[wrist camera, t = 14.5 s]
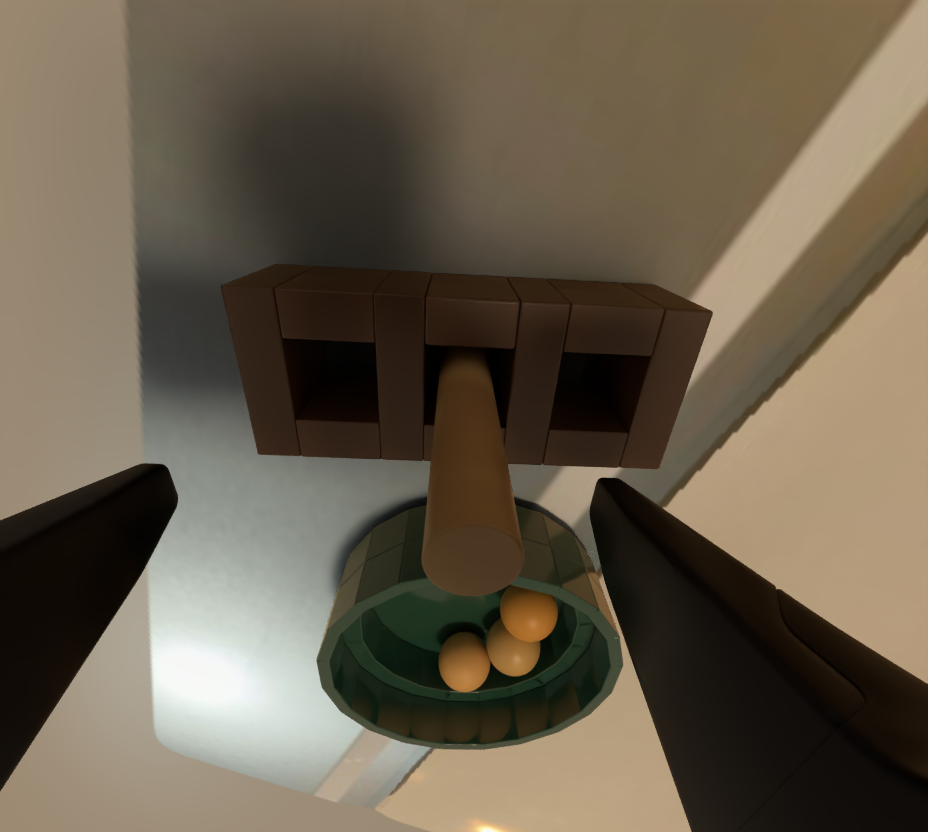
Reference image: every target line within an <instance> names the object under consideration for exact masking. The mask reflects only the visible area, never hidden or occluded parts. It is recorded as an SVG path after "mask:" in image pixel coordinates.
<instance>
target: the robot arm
mask: <svg viewBox="0 0 928 832" xmlns="http://www.w3.org/2000/svg"><path fill="white" fill-rule="evenodd" d="M177 504H178V495H177V492H176V489H175V486H174V483H173V480H172V478H171V475H170V472H169V470H168V468H167V467H166V466H165V465H163V464H148V463H144V464H139V465H136V466H134V467H131V468H129V469H126V470H124V471H121V472H119V473H117V474H114V475H112V476H109V477H107V478H104V479H102V480H99V481H97V482H94V483H92V484H89V485H87V486H84V487H82V488H79V489H77V490H75V491H72V492H70V493H67V494H65V495H62V496H60V497H57V498H55V499H52V500H50V501H47V502H45V503H42V504H40V505H37V506H35V507H32V508H30V509H28V510H25V511H23V512H20V513H18V514H15V515H13V516H10V517H8V518H5V519H3V520H0V791H1V789H2V788H3V786H4V785H5V783H6V782H7V780H8V779H9V777H10V775H11V774H12V773H13V771H14V769H15V768H16V766H17V765H18V763H19V762H20V760H21V759H22V757H23V756H24V754H25V753H26V751H27V749H28V748H29V746H30V745H31V743H32V742H33V740H34V739H35V737H36V736H37V734H38V733H39V731H40V730H41V728H42V726H43V725H44V723H45V722H46V720H47V719H48V717H49V716H50V714H51V713H52V711H53V710H54V708H55V706H56V705H57V703H58V702H59V700H60V699H61V697H62V696H63V694H64V693H65V691H66V690H67V688H68V687H69V685H70V683H71V682H72V680H73V679H74V677H75V676H76V674H77V673H78V671H79V670H80V668H81V667H82V665H83V664H84V662H85V661H86V659H87V657H88V656H89V654H90V653H91V651H92V650H93V648H94V646H95V645H96V643H97V642H98V641H99V639H100V638H101V636H102V634H103V633H104V631H105V630H106V628H107V627H108V625H109V624H110V622H111V621H112V619H113V618H114V616H115V615H116V613H117V611H118V610H119V608H120V607H121V605H122V604H123V602H124V600H125V599H126V598H127V596H128V595H129V593H130V591H131V590H132V588H133V587H134V585H135V584H136V582H137V580H138V579H139V577H140V576H141V574H142V572H143V570H144V569H145V567H146V565H147V563H148V561H149V559H150V557H151V556H152V554H153V552H154V550H155V548H156V546H157V544H158V542H159V540H160V538H161V536H162V534H163V532H164V530H165V529H166V527H167V525H168V523H169V521H170V519H171V517H172V515H173V513H174V511H175V509H176V507H177ZM590 520H591V524H592V528H593V533H594V537H595V542H596V546H597V551H598V555H599V559H600V564H601V568H602V572H603V576H604V580H605V584H606V587H607V590H608V593H609V596H610V599H611V602H612V605H613V608H614V611H615V613H616V616H617V619H618V622H619V625H620V628H621V631H622V633H623V636H624V639H625V642H626V645H627V648H628V651H629V653H630V656H631V659H632V662H633V665H634V668H635V671H636V674H637V676H638V679H639V682H640V685H641V688H642V691H643V694H644V696H645V699H646V702H647V705H648V708H649V711H650V714H651V717H652V719H653V722H654V725H655V728H656V731H657V734H658V737H659V739H660V742H661V745H662V748H663V751H664V754H665V757H666V759H667V762H668V765H669V768H670V771H671V774H672V777H673V780H674V782H675V785H676V788H677V791H678V794H679V797H680V800H681V802H682V805H683V808H684V811H685V814H686V817H687V820H688V822H689V825H690V828H691V831H692V832H928V684H927V683H925V682H924V681H922V680H920V679H919V678H917V677H915V676H914V675H912V674H911V673H909V672H907V671H906V670H904V669H902V668H901V667H899V666H898V665H896V664H894V663H893V662H891V661H889V660H888V659H886V658H885V657H883V656H881V655H880V654H878V653H876V652H875V651H873V650H872V649H870V648H869V647H867V646H865V645H864V644H862V643H861V642H859V641H857V640H856V639H854V638H853V637H851V636H849V635H848V634H846V633H845V632H843V631H842V630H840V629H838V628H837V627H835V626H834V625H832V624H831V623H829V622H828V621H826V620H825V619H823V618H822V617H820V616H819V615H817V614H816V613H814V612H813V611H811V610H810V609H808V608H807V607H805V606H804V605H802V604H801V603H799V602H798V601H797V600H795V599H794V598H792V597H791V596H789V595H788V594H786V593H785V592H784V591H782V590H780V589H777V590H776V587H775V586H774V585H773V584H772V583H770V582H769V581H767V580H766V579H764V578H763V577H761V576H760V575H759V574H757V573H756V572H754V571H753V570H751V569H750V568H748V567H747V566H745V565H744V564H743V563H741V562H740V561H738V560H737V559H735V558H734V557H732V556H731V555H729V554H728V553H727V552H725V551H724V550H722V549H721V548H719V547H718V546H716V545H715V544H713V543H712V542H711V541H709V540H708V539H706V538H705V537H703V536H702V535H700V534H699V533H697V532H696V531H695V530H693V529H692V528H690V527H689V526H687V525H686V524H684V523H683V522H681V521H680V520H679V519H677V518H676V517H674V516H673V515H671V514H670V513H668V512H667V511H665V510H664V509H662V508H661V507H660V506H658V505H657V504H655V503H654V502H652V501H651V500H649V499H648V498H646V497H645V496H644V495H642V494H641V493H639V492H638V491H636V490H635V489H633V488H632V487H630V486H629V485H628V484H626V483H625V482H623V481H622V480H620V479H618V478H600V479H599V480H598V481H597V483H596V487H595V490H594V494H593V498H592V502H591V506H590Z"/></svg>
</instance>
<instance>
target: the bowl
mask: <svg viewBox="0 0 928 832" xmlns="http://www.w3.org/2000/svg"><path fill="white" fill-rule="evenodd" d="M426 507H427V505H424V506H420V507H415V508H411V509H408V510H406V511H404V512H402V513H401V514H399V515H397V516H395V517H393V518H391V519H389V520H387V521H385V522H383V523H382V524H380V525H378V526H376V527H374V529H372V531H371V532H370V533H369V534H368V535H367V536H366V537H365V538H364V539H363V540H362V541H361V542H360V543H359V544H358V545H357V546H356V547H355V549H354V550H353V551H352V552H351V553H350V555H349V557H348V560H347V563H346V565H345V568H344V571H343V574H342V577H341V580H340V583H339V586H338V589H337V593H336V596H335V599H334V603H333V606H332V609H331V613H330V616H329V619H328V623H327V626H326V629H325V633H324V636H323V639H322V642H321V646H320V649H319V652H318V656H317V665H318V670H319V675H320V680H321V685H322V688H323V690H324V691H325V692H326V694H327V695H328V696H329V697H330V699H331V700H332V701H333V702H334V704H335V705H336V706H337V708H338V709H339V710H340V711H341V712H342V713H343V714H345V715H347V716H348V717H350V718H351V719H353V720H354V721H356V722H357V723H359V724H360V725H362V726H363V727H365V728H366V729H368V730H370V731H373V732H376V733H378V734H381V735H384V736H387V737H389V738H392V739H395V740H398V741H400V742H404V743H409V744H415V745H421V746H426V747H432V748H438V749H479V750H482V749H483V750H484V749H491V748H498V747H505V746H512V745H519V744H522V743H526V742H529V741H532V740H535V739H538V738H542V737H545V736H548V735H551V734H554V733H557V732H560V731H561V730H563V729H565V728H567V727H569V726H570V725H572V724H574V723H576V722H577V721H579V720H581V719H583V718H585V717H586V716H588V715H589V714H591V713H592V712H593V711H594V710H595V709H596V708H597V707H598V706H599V705H600V704H601V703H602V702H603V701H604V700H605V699H606V698H607V697H608V696H609V695H610V694H611V693H612V691H613V689H614V686H615V684H616V682H617V679H618V677H619V674H620V672H621V670H622V667H623V658H622V651H621V643H620V636H619V634H618V631H617V628H616V625H615V623H614V620H613V617H612V615H611V612H610V609H609V606H608V604H607V601H606V598H605V596H604V593H603V590H602V587H601V585H600V582H599V579H598V576H597V574H596V571H595V568H594V566H593V563H592V560H591V558H590V557H589V555H588V554H587V553H586V551H585V550H584V548H583V547H582V546H581V544H580V543H579V541H578V540H577V538H576V537H575V536H574V534H572V533H571V532H569V531H568V530H566V529H565V528H563V527H562V526H560V525H559V524H557V523H556V522H554V521H553V520H551V519H550V518H548V517H547V516H545V515H544V514H542V513H540V512H537V511H534V510H530V509H527V508H524V507H520V506H517V505H515V507H516V513H517V518H518V523H519V529H520V534H521V539H522V545H523V550H524V564H523V567H522V570H521V572H520V574H519V575H518V577H517V578H516V579H515V580H514V581H513V582H512V583H511V584H509V585H508V586H507V587H505V588H503V589H501V590H499V591H497V592H494V593H491V594H486V595H481V596H463V595H457V594H453V593H450V592H447V591H445V590H443V589H441V588H439V587H438V586H436V585H435V584H434V583H433V582H432V581H430V579H429V578H428V577H427V575H426V573H425V572H424V569H423V566H422V548H423V538H424V528H425V517H426ZM510 585H513V586H517V587H521V588H525V589H529V590H533V591H537V592H541V593H545V594H548V595H552V596H554V598H555V600H556V603H557V608H558V616H557V622H556V625H555V627H554V629H553V630H552V632H551V633H550V634H549V635H548V636H547V637H546V638H544V639H542V640H540V655H539V659H538V661H537V663H536V665H535V666H534V668H533V669H532V670H531V671H529V672H528V673H526V674H524V675H521V676H508V675H506V674H503V673H502V672H500V671H499V670H498V669H497V668H496V667H495V666H494V665H493V664H492V662H491V660H490V670H489V673H488V676H487V678H486V680H485V681H484V682H483V684H482V685H481V686H480V687H478V688H477V689H475V690H473V691H470V692H459V691H456V690H454V689H452V688H451V687H449V686H448V685H447V684H446V683H445V681H444V680H443V678H442V676H441V674H440V670H439V663H438V662H439V654H440V650H441V648H442V646H443V644H444V643H445V641H446V640H447V639H448V638H449V637H450V636H452V635H453V634H456V633H458V632H470V633H473V634H475V635H477V636H478V637H480V638H481V639H482V640H483V641H484V643H485V644H486V646H487V636H488V633H489V630H490V628H491V627H492V625H493V624H494V623H495V622H496V621H497V620H498V619H500V618H501V614H500V603H501V599H502V596H503V594H504V592H505V590H506V589H507V588H508V587H509V586H510Z"/></svg>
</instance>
